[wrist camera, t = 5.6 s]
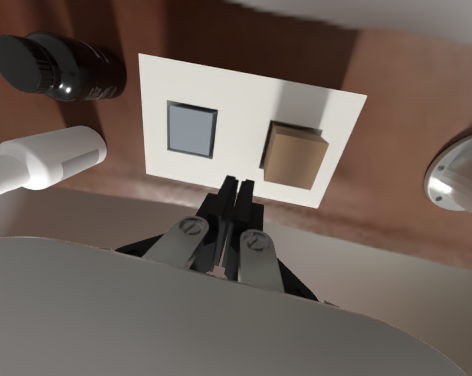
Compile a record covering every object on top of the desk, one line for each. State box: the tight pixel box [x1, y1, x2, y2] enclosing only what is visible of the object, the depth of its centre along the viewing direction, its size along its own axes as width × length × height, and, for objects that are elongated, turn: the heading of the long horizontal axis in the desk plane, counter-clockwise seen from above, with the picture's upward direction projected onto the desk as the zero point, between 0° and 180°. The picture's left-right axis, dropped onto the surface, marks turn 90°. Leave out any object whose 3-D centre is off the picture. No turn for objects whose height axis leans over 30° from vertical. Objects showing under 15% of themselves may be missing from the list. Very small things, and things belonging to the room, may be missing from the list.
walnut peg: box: [263, 122, 329, 190], centre depth 22 cm, size 5×5×6 cm
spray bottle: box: [0, 126, 107, 194], centre depth 27 cm, size 7×7×18 cm
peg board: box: [139, 54, 367, 208], centre depth 27 cm, size 24×14×8 cm, turn 82°
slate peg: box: [170, 103, 218, 156], centre depth 26 cm, size 5×5×6 cm
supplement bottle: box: [0, 31, 126, 101], centre depth 24 cm, size 7×7×12 cm
